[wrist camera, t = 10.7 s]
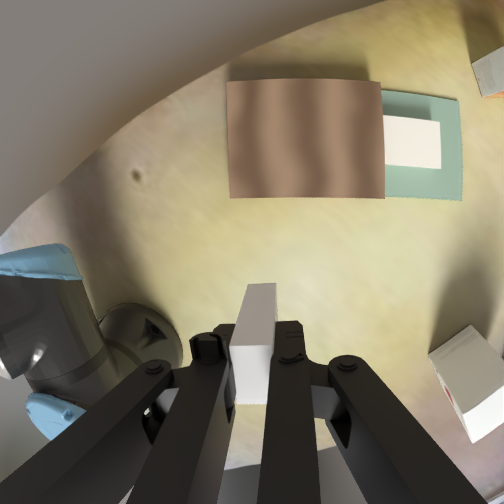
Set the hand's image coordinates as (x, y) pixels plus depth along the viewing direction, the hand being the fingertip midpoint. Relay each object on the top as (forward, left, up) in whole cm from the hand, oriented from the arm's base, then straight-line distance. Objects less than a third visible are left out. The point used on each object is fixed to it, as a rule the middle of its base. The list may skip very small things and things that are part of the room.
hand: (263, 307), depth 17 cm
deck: (+3, +11, -24) cm, 27 cm away
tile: (+16, +11, -24) cm, 31 cm away
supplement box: (+29, -21, -25) cm, 43 cm away
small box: (+33, +23, -25) cm, 47 cm away
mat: (+19, +11, -24) cm, 33 cm away
